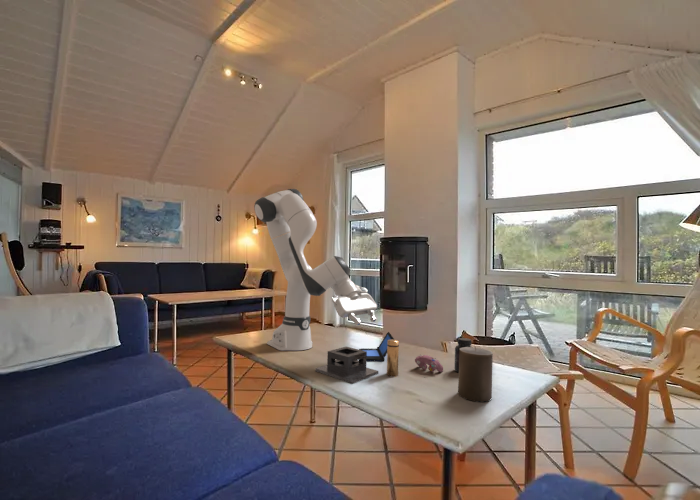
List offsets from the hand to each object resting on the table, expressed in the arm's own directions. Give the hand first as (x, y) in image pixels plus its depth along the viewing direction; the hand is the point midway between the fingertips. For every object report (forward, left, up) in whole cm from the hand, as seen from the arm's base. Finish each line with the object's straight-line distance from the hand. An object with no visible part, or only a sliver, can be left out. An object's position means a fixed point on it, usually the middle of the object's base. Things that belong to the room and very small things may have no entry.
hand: (366, 322), depth 131 cm
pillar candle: (+41, +2, -17) cm, 44 cm away
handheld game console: (-7, +15, -17) cm, 24 cm away
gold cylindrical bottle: (+12, 0, -17) cm, 21 cm away
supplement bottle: (+29, +22, -17) cm, 40 cm away
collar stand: (-1, -10, -17) cm, 19 cm away
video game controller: (+19, +14, -17) cm, 29 cm away
